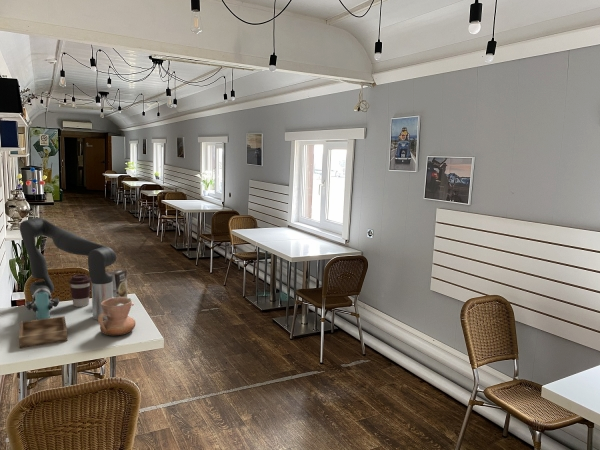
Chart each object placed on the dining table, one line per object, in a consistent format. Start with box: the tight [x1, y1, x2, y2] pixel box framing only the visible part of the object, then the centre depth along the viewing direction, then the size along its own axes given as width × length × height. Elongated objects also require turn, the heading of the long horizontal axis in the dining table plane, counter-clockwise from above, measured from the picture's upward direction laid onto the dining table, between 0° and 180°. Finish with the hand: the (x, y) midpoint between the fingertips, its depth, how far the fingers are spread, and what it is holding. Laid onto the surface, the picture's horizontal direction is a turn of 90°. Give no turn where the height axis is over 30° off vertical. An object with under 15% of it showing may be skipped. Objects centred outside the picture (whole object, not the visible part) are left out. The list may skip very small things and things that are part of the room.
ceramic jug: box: [97, 296, 136, 336], centre depth 203 cm, size 18×14×14 cm
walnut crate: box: [18, 316, 68, 349], centre depth 197 cm, size 17×18×4 cm
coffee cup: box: [68, 273, 91, 308], centre depth 235 cm, size 10×10×15 cm
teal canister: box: [35, 292, 51, 320], centre depth 210 cm, size 5×5×14 cm
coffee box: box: [107, 268, 128, 298], centre depth 242 cm, size 9×6×16 cm
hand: (42, 308), depth 208 cm, fingers closed on teal canister, 5 cm apart
